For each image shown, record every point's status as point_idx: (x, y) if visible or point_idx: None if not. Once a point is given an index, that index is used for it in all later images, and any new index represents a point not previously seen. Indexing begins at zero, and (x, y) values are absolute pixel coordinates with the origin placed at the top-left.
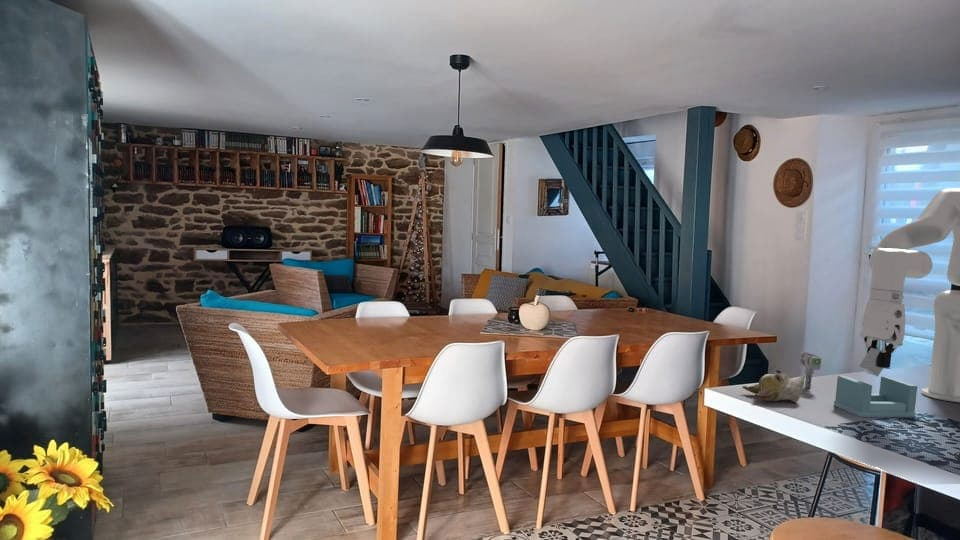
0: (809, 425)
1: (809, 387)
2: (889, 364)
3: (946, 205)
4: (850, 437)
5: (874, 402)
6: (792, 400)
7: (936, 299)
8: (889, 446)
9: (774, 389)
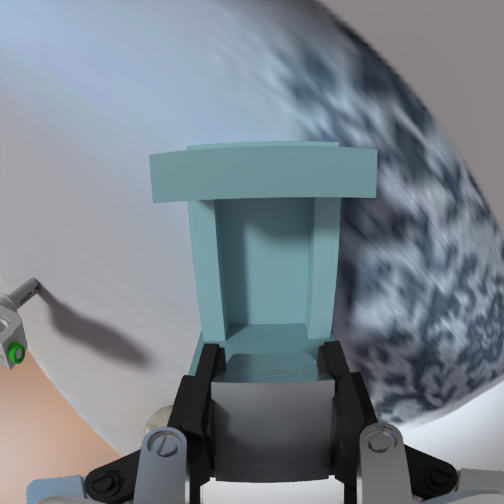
0: None
1: (34, 281)
2: (341, 356)
3: None
4: (424, 416)
5: (321, 313)
6: None
7: None
8: (472, 380)
9: None
